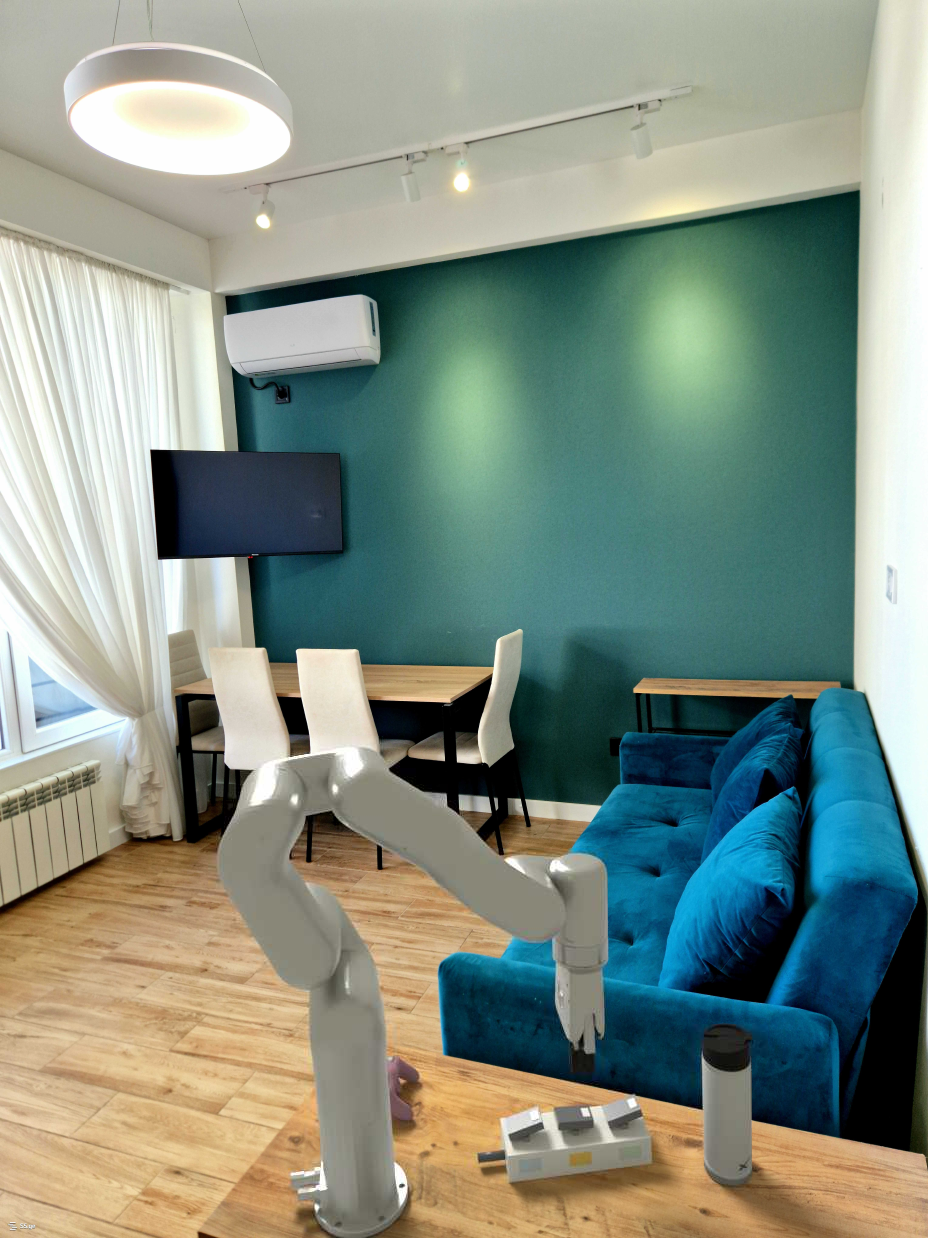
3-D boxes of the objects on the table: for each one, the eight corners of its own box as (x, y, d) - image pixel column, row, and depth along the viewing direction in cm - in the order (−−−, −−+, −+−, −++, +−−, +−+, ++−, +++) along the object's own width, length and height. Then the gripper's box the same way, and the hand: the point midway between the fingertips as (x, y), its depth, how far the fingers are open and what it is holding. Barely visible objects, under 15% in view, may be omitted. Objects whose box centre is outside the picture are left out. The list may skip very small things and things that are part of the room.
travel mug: (758, 1190, 107) (756, 1051, 104) (706, 1185, 108) (703, 1047, 106) (751, 1153, 113) (749, 1021, 111) (702, 1148, 115) (699, 1017, 112)
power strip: (481, 1187, 110) (479, 1156, 109) (475, 1147, 117) (473, 1117, 117) (652, 1164, 112) (651, 1133, 112) (636, 1126, 119) (635, 1097, 119)
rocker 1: (510, 1142, 112) (507, 1134, 112) (507, 1126, 115) (504, 1118, 115) (544, 1129, 112) (541, 1121, 112) (540, 1113, 115) (537, 1105, 115)
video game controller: (398, 1087, 133) (376, 1052, 132) (422, 1075, 132) (400, 1040, 131) (389, 1133, 123) (366, 1096, 122) (415, 1121, 122) (392, 1083, 122)
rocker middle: (558, 1131, 113) (558, 1122, 112) (553, 1115, 116) (553, 1107, 115) (593, 1128, 113) (593, 1119, 113) (588, 1112, 116) (588, 1104, 116)
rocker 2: (609, 1129, 113) (607, 1121, 113) (603, 1113, 116) (601, 1106, 116) (643, 1116, 114) (640, 1108, 113) (636, 1101, 117) (634, 1093, 116)
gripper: (542, 921, 118) (544, 1038, 120) (565, 979, 103) (567, 1111, 106) (593, 917, 119) (594, 1034, 121) (622, 974, 104) (623, 1105, 106)
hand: (581, 1070), depth 113 cm, fingers closed
